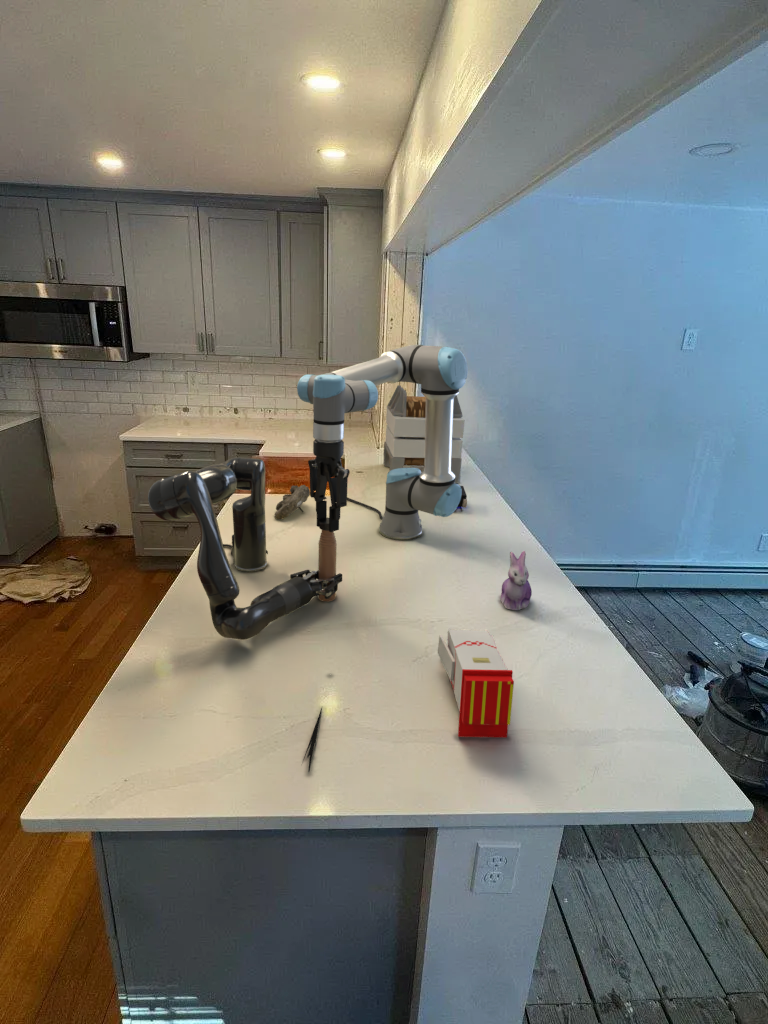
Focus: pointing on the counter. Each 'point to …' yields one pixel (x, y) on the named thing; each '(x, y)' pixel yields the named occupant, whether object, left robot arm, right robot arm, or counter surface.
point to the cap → (324, 524)
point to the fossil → (292, 501)
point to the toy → (478, 682)
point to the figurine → (516, 584)
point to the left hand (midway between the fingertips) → (333, 573)
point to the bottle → (327, 559)
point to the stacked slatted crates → (416, 432)
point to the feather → (313, 740)
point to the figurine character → (462, 500)
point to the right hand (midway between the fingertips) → (327, 527)
